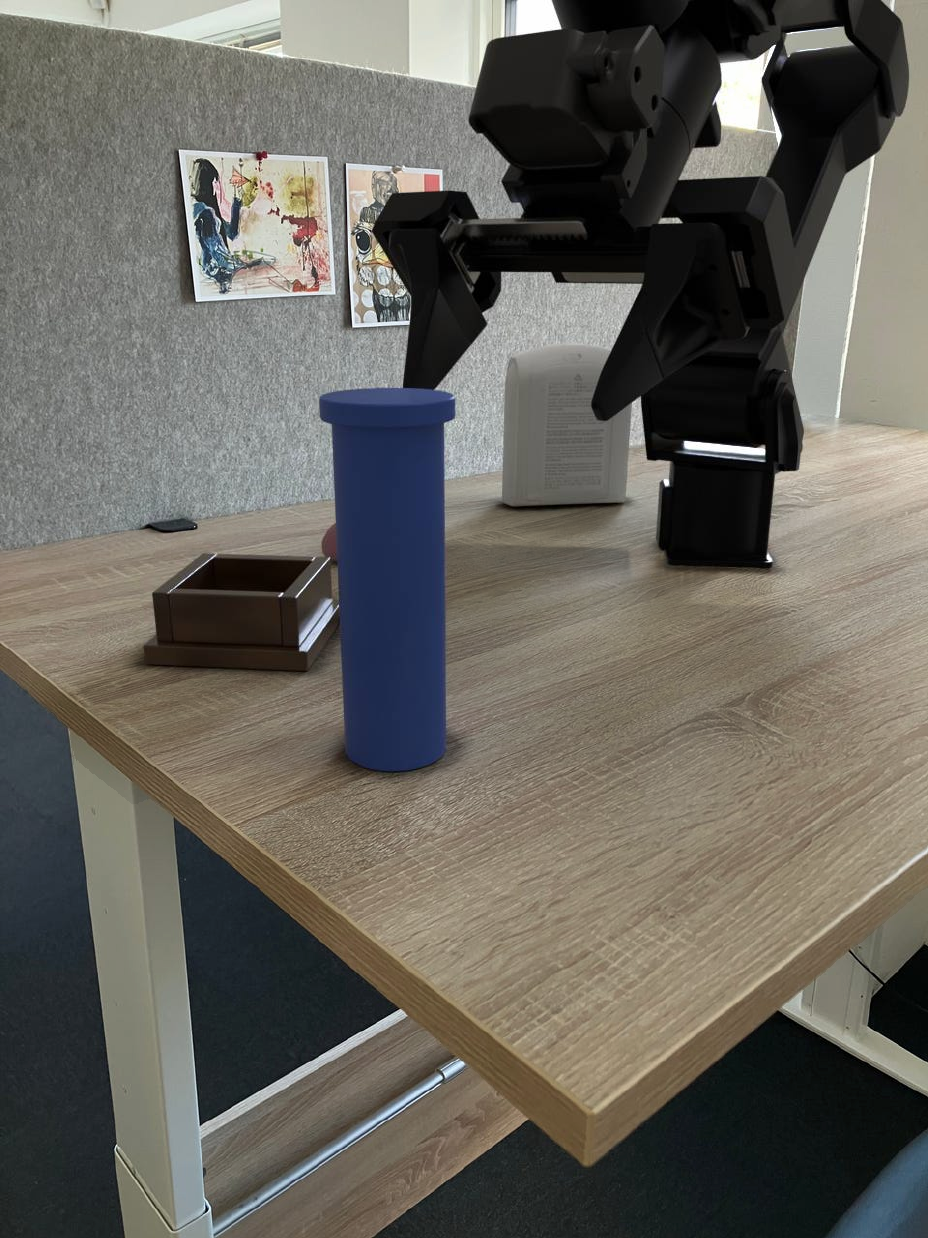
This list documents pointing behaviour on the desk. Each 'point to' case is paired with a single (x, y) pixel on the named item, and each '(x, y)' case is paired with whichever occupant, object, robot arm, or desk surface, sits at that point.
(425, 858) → the desk surface
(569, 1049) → the desk surface
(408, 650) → the blue capped tube
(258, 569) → the holder
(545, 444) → the photo printer
